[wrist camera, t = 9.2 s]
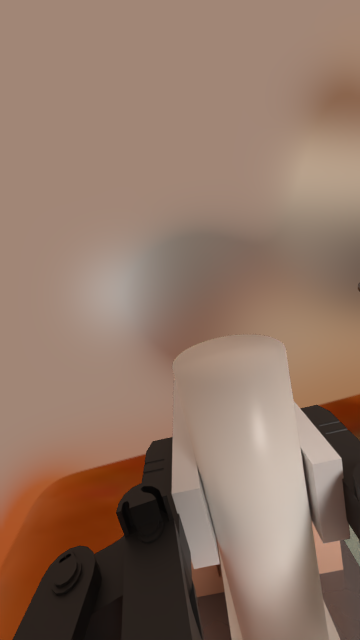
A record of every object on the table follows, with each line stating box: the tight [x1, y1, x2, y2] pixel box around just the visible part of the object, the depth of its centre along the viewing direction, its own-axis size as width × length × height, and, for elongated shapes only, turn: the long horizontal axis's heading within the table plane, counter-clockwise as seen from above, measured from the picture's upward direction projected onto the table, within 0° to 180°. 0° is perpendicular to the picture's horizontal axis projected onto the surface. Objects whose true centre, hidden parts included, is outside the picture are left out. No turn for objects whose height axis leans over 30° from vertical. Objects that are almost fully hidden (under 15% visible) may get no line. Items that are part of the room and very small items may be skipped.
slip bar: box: [172, 334, 340, 640], centre depth 11 cm, size 4×12×16 cm, turn 1°
